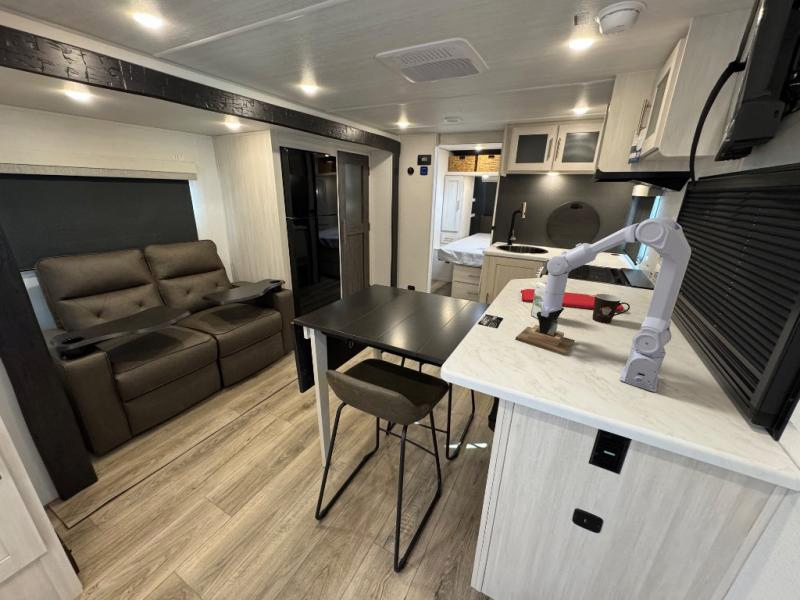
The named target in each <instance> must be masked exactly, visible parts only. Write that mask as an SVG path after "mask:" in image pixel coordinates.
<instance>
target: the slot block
mask: <svg viewBox="0 0 800 600" xmlns="http://www.w3.org/2000/svg"><path fill="white" fill-rule="evenodd" d="M538 328H539V324H538V325H537V324H535V325H534V326H533V327H530V326H527V327H526V328H524V329H523V330H522V331H521V332H520V333H519V334H518V335H517V336H515V341H517V342H521V343H524V344H527V345H530V346H533V347H536V348H539V349H543V350H546V351H549V352H552V353H555V354H558V355H561V356H564V357H565V356H566V355H567V353H569V350H571V348H572V346H574V344H573V343H575V341H576V340H575V339H572V338H570V337H565V336H564V335H565V332H562V331H560V330H556V335H555V337H552V336H548V335H545V334H541V333H538Z"/></svg>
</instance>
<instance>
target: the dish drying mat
mask: <svg viewBox="0 0 800 600" xmlns="http://www.w3.org/2000/svg"><path fill="white" fill-rule="evenodd" d="M521 293H522V296H521V302H522V301H523V303H530V302H531V304H533V299H534V293H535V288H525V289H521V290H520V294H521ZM594 300H595V294H586V293H577V292H576V293H575V292H566V291H565V293H564V297H563V302H562V307H567V308H568V307H569V308H580V309H589V310H590V309H591V310H593V309H594ZM624 309H625V308H624V306H623V304H621V305H620V306H618V307H617V309H616V312H617V311H618V312H623V311H625V310H624Z"/></svg>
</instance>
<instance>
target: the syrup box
mask: <svg viewBox="0 0 800 600" xmlns="http://www.w3.org/2000/svg"><path fill="white" fill-rule="evenodd" d="M546 283H547V281H539V282H536V283H535V286H534V287H535V288H534V289H535V293H534V299H533V303H532V305H531V311H530V316H531V317H533V318H535V319H536V320H538V317H537V312H542V305H539V302H540V301H542V302H543V299H544V294H545V289H546Z"/></svg>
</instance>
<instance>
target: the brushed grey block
mask: <svg viewBox="0 0 800 600" xmlns="http://www.w3.org/2000/svg"><path fill="white" fill-rule="evenodd" d="M558 325H559V320H557V321H556V320H553V322H552V324H551V326H550V328H549V331H548V333H547V334H546V335H548V336H552V337H555V335H556V331H558V330H557V329H558ZM538 333H540V328H538ZM541 334H542V333H541Z"/></svg>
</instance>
